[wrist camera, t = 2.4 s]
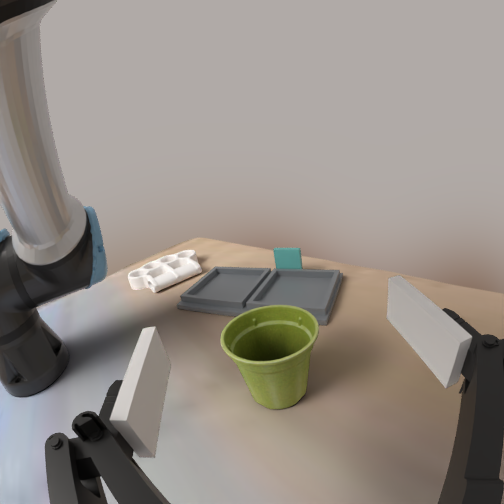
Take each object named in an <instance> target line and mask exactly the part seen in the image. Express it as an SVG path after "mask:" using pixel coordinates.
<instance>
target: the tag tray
mask: <svg viewBox="0 0 504 504" xmlns="http://www.w3.org/2000/svg"><path fill="white" fill-rule="evenodd" d="M273 250H274V257H275V263H276V269H273V271H271V269H270V268H239V267H214V268H213V269H212V270H211V271H210V272H208V273H207V274H206V275H205V276H204V277H202V278H201V279H200V280H199V281H198V282H196V283H195V284H194V285H193V286H192V287H190V288H189V289H188V290H187V291H186V292H184V293H183V294H182V295H181V296H180V297H181V301H180V302H179V303H178V304H177V307H178V309H185V310H191V311H198V312H205V313H212V314H220V315H228V316H236V317H237V316H239V315H240V314H242V313H245V312H247V311H249V310H252V309H255V308H259V307H264V306H270V305H290V306H295V307H299V308H302V309H304V310H307V311H308V312H310V313H311V314H312V315H313V316H314V317H315V318H316V320H317V322H318V325H327V323H328V320H329V317H330V314H331V312H332V309H333V306H334V303H335V300H336V297H337V294H338V291H339V288H340V285H341V282H342V279H343V273H340V270H310V269H303V268H302V259H301V251H300V248H274V249H273Z"/></svg>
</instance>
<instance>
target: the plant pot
mask: <svg viewBox="0 0 504 504" xmlns="http://www.w3.org/2000/svg"><path fill="white" fill-rule="evenodd" d="M318 332H319V325H318V322H317V320H316V318H315V317H314V316H313V315H312V314H311V313H310V312H308V311H307V310H304V309H302V308H299V307H295V306H290V305H270V306H264V307H259V308H255V309H252V310H249V311H247V312H245V313H242V314H240V315H239V316H237V317H235V318H234V319H232V320H231V321H230V322H229V323H228V324H227V325H226V326H225V328H224V329H223V331H222V333H221V338H220V342H221V345H222V348H223V350H224V351H225V353H226V354H227V355H228V356H229V357H231V358H232V360H233V361H234V362H235V363H236V364H237V366H238V368H239V370H240V372H241V374H242V376H243V378H244V380H245V382H246V384H247V386H248V388H249V390H250V392H251V394H252V396H253V398H254V400H255V401H256V402H257V403H259V404H261V405H263V406H265V407H266V408H269V409H283V408H287V407H290V406H292V405H294V404H296V403H297V402H298V401H299V400H300V399H301V397H302V396H303V395H304V394H305V392H306V388H307V380H308V371H309V362H310V353H311V350H312V348H313V344H314V342H315V341H316V339H317V336H318Z"/></svg>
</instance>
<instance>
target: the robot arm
mask: <svg viewBox="0 0 504 504" xmlns="http://www.w3.org/2000/svg"><path fill="white" fill-rule="evenodd" d="M56 2H57V0H0V205H1V206H2V208H3V210H4V212H5V214H6V216H7V218H8V219H9V221H10V223H11V225H12V227H13V232H12V236H9V235H10V234H9V232H8V231H7V229H3V230H1V231H0V381H1V383H2V384H3V386H4V387H5V389H6V390H7V391H8V393H10V394H11V395H13V396H19V397H22V396H29V395H32V394H35V393H37V392H39V391H41V390H43V389H45V388H46V387H48V386H49V385H50V384H52V383H53V382H54V381H55V380H56V379H57V378H58V377H59V376H60V375H61V373H62V372H63V371H64V369H65V367H66V365H67V363H68V359H69V353H68V350H67V348H66V347H65V345H64V343H63V341H62V340H61V339H60V338H59V337H58V335H57V334H56V333H55V332H54V331H53V330H52V329H51V328H50V327H49V326H48V325H47V324H46V323H45V322H44V321H43V320H42V318H41V317H40V315H39V313H38V311H37V309H36V307H38V306H40V305H43V304H45V303H48V302H50V301H53V300H56V299H58V298H61V297H63V296H66V295H68V294H71V293H74V292H76V291H79V290H82V289H84V288H85V289H87V288H90V287H91V286H92V285H94V284H96V283H98V282H101V281H102V280H104V279H105V277H106V275H107V260H106V254H105V250H104V247H103V240H102V235H101V230H100V226H99V223H98V219H97V216H96V213H95V210H94V209H93V208H92V207H90V206H89V207H85V206H82V204H81V202H80V201H79V200H78V199H77V198H75V197H74V196H71V195H69V194H68V191H67V188H66V185H65V181H64V177H63V174H62V170H61V167H60V162H59V158H58V154H57V150H56V146H55V141H54V137H53V132H52V128H51V123H50V118H49V112H48V106H47V100H46V94H45V86H44V78H43V69H42V58H41V45H40V23H41V20H42V18H43V17H44V16H45V15H46V13H47V12H48V11H49V10H50V9H51V8H52V6H53V5H54V4H55V3H56ZM387 319H388V320H389V321H390V323H391V324H392V325H393V326H394V327H395V328H396V329H397V331H398V332H399V333H400V334H401V335H402V336H403V338H404V339H405V340H406V341H407V342H408V343H409V345H410V346H411V347H412V348H413V349H414V350H415V352H416V353H417V354H418V355H419V356H420V358H421V359H422V360H423V361H424V362H425V364H426V365H427V366H428V367H429V368H430V370H431V371H432V372H433V373H434V375H435V376H436V377H437V378H438V379H439V381H440V382H441V383H442V384H443V386H444V387H445V388H448V387H450V386H451V385H453V384H455V383H457V382H458V380H459V377H460V374H461V373H462V375H463V376H464V377H465V379H464V381H463V384H462V387H461V389H460V392H459V394H461V392H462V399H461V407H460V414H459V420H458V426H457V432H456V437H455V442H454V447H453V452H452V456H451V460H450V464H449V468H448V472H447V476H446V479H445V483H444V486H443V489H442V492H441V496H440V499H439V502H438V504H501V499H502V494H503V489H504V483H503V480H500V479H499V473H500V466H501V458H502V449H503V438H504V339H501V340H499V339H498V338H497V337H495V336H493V335H489V334H487V335H481V334H480V333H478V332H477V331H476V330H475V329H474V328H473V327H472V326H470V325H469V324H468V323H467V322H465V320H463V319H462V318H460V316H459V315H457V314H456V313H455V312H454V311H451V310H449V309H447V308H444V309H440V308H439V307H438V306H437V305H436V304H434V303H433V302H432V301H431V300H430V299H428V298H427V297H426V296H425V295H424V294H422V293H421V292H420V291H419V290H418V289H416V288H415V287H414V286H413V285H411V284H410V283H409V282H408V281H406V280H405V279H404V278H403V277H401V276H400V275H398V276H394V277H391V278H389V281H388V305H387ZM170 368H171V363H170V360H169V358H168V356H167V353H166V351H165V348H164V346H163V344H162V341H161V339H160V336H159V334H158V331H157V329H156V326H155V327H148V328H143V329H142V332H141V334H140V337H139V340H138V342H137V345H136V347H135V350H134V352H133V355H132V358H131V360H130V363H129V366H128V368H127V371H126V374H125V377H124V379H123V380H116V381H115V382H114V383H113V384H112V385H111V386H110V387H109V390H108V392H107V395H106V396H107V397H106V398H105V400H104V403H103V406H102V408H101V411H100V414H99V416H98V415H97V414H96V413H95V412H91V411H86V412H83V413H80V414H79V415H78V416H76V418H75V419H74V420H73V423H72V430H73V431H74V432H75V433H76V434H77V435H78V437H77V438H73V439H68V437H67V436H66V435H65V434H63V433H55V434H53V435H51V436H50V437H49V438H48V439H47V441H46V443H45V459H46V473H47V483H48V491H49V499H50V504H108V503H107V500H106V497H105V493H104V490H103V486H102V483H101V479H100V476H102V478H103V480H104V481H105V483H106V485H107V486H108V488H109V490H110V491H111V493H112V494H113V496H114V497H115V499H116V500H117V502H118V503H119V504H170V503H169V502H168V501H167V499H166V498H165V497H164V496H163V495H162V494H161V493H160V491H159V490H158V489H157V488H156V487H155V486H154V484H153V483H152V482H151V481H150V479H149V478H148V477H147V476H146V475H145V473H144V472H143V471H142V469H141V468H140V467H139V466H138V464H137V463H136V462H135V460H134V459H133V458H132V456H133V451H134V452H135V453H136V454H137V455H138V456H139V457H148V458H155V454H156V447H157V441H158V435H159V428H160V422H161V417H162V411H163V405H164V400H165V394H166V389H167V384H168V379H169V373H170Z"/></svg>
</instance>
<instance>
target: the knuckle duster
mask: <svg viewBox="0 0 504 504" xmlns="http://www.w3.org/2000/svg"><path fill="white" fill-rule="evenodd" d="M201 272H202V269H201V267H200V265H199V264H198V260H197V256H196V252H195V251H194V250H185V251H181V252H179V253H176V254H172V255H167V256H164V257H161V258H159V259H157V260H155V261H151V262H149V263H147V264H145V265H143V266H142V267H141V268H139V269H136V270H134V271H131V272H130V273H129V274H128V279H129V282H130V285H131V288H132V289H134V290H139V289H144V288H150V289H151V290H152V291H153V292H154V293H155V292H159V291H160V290H162V289H164V288H167V287H169V286H171V285H174V284H176V283H179V282H181V281H183V280H185V279H188V278H190V277H192V276H194V275H197V274H200V273H201Z"/></svg>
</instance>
